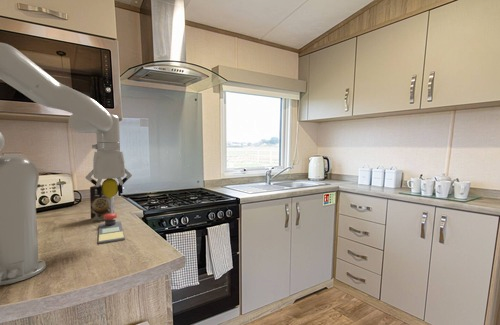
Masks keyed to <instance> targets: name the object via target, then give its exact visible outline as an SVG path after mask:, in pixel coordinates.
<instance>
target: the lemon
mask: <svg viewBox="0 0 500 325" xmlns="http://www.w3.org/2000/svg"><path fill="white" fill-rule="evenodd" d="M101 183H102V184H101V185H102V187H101V190H102V193H103V195H104V196H106V197H108V198H109V199H111V198H112V197H113V196H114V197H115V196H116V195H118V185H119V183H118V182H117V180H116V179H115V178H112V179H103V181H102V182H101Z"/></svg>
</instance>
